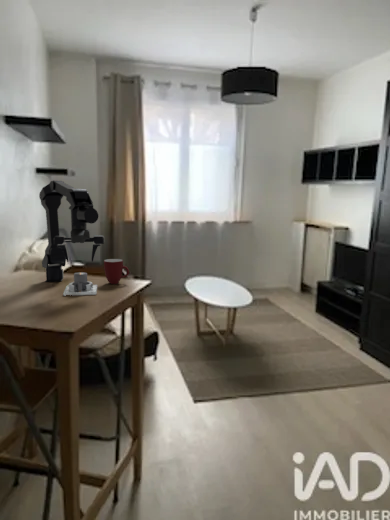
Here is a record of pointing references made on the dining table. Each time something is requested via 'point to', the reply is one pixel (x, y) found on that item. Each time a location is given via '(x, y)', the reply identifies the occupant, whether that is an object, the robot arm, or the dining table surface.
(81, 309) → the dining table surface
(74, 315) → the dining table surface
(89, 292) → the hub
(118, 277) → the mug
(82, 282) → the knob
